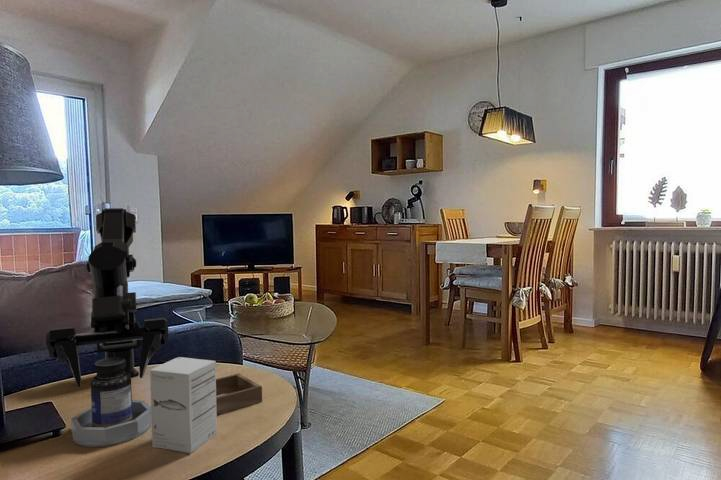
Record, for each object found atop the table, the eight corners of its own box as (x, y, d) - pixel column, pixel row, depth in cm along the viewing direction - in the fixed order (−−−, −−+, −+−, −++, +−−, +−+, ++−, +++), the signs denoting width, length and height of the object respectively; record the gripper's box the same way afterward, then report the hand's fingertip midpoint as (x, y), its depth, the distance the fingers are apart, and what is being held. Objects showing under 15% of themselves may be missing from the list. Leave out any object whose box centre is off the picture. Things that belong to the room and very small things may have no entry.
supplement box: (150, 448, 75) (147, 369, 74) (181, 427, 82) (179, 355, 81) (190, 455, 72) (187, 373, 72) (219, 433, 79) (216, 359, 79)
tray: (67, 428, 82) (66, 412, 82) (140, 409, 89) (139, 394, 89) (80, 454, 73) (79, 437, 73) (160, 431, 80) (159, 415, 80)
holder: (191, 399, 94) (191, 384, 94) (239, 387, 100) (238, 373, 100) (212, 416, 86) (212, 400, 86) (262, 401, 93) (261, 386, 92)
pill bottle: (94, 421, 83) (91, 358, 82) (133, 414, 85) (130, 353, 85) (90, 436, 77) (87, 369, 76) (132, 428, 80) (130, 363, 79)
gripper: (44, 281, 79) (35, 366, 70) (165, 274, 87) (171, 349, 78) (54, 318, 87) (47, 399, 77) (165, 308, 95) (170, 381, 85)
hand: (110, 381), depth 79 cm, fingers open, 9 cm apart
